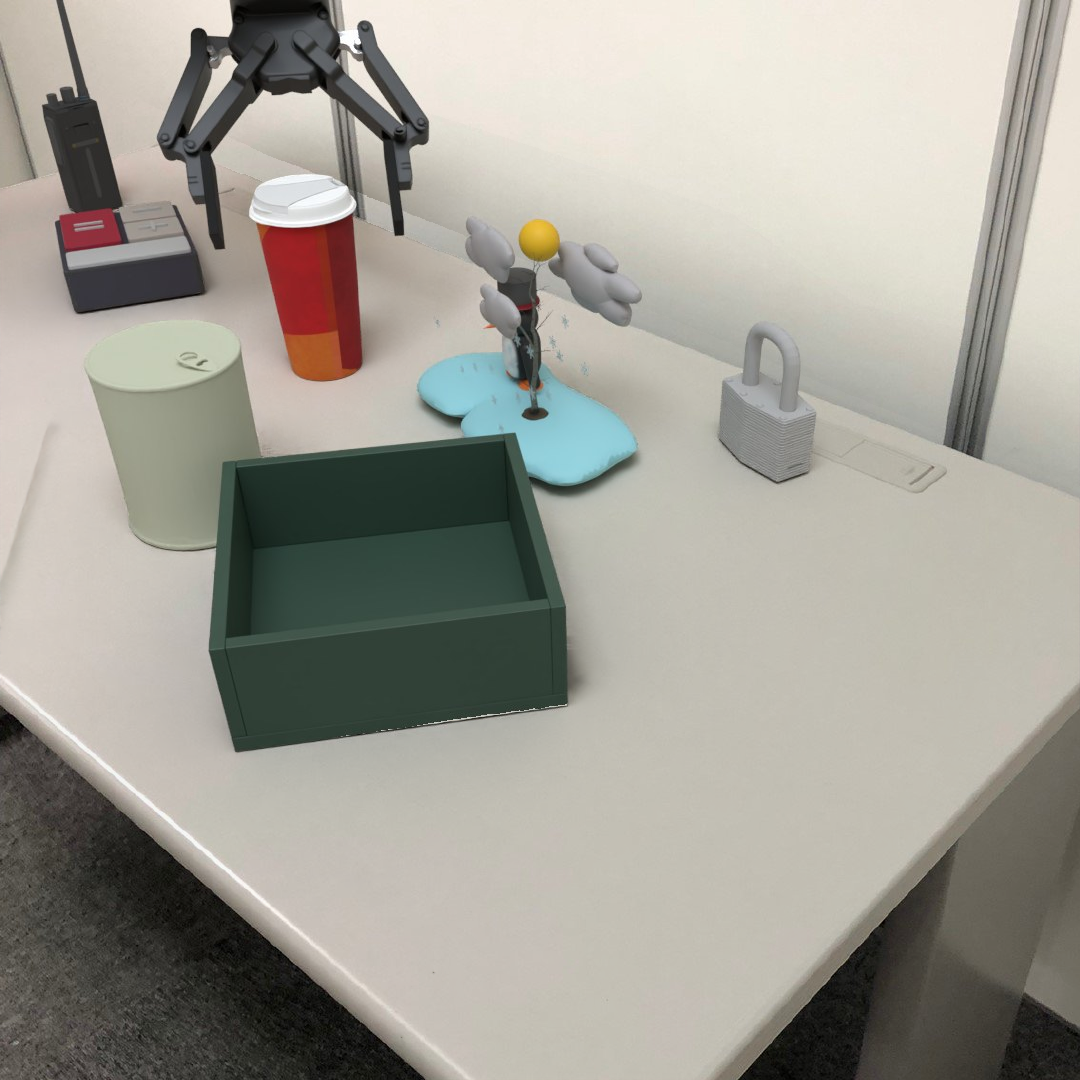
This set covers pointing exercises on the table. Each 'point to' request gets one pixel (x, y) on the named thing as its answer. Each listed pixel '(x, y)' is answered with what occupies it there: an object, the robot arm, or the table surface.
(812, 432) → the padlock
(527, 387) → the blue and grey toy
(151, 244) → the calculator
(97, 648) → the table surface
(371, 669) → the bin
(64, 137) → the walkie-talkie
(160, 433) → the can
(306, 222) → the paper cup
